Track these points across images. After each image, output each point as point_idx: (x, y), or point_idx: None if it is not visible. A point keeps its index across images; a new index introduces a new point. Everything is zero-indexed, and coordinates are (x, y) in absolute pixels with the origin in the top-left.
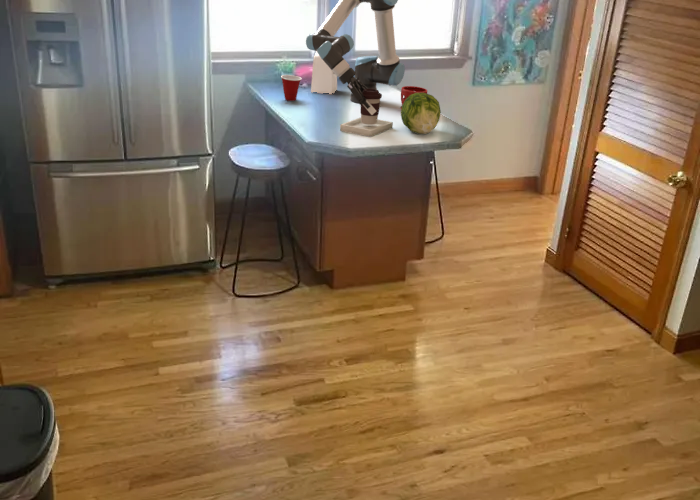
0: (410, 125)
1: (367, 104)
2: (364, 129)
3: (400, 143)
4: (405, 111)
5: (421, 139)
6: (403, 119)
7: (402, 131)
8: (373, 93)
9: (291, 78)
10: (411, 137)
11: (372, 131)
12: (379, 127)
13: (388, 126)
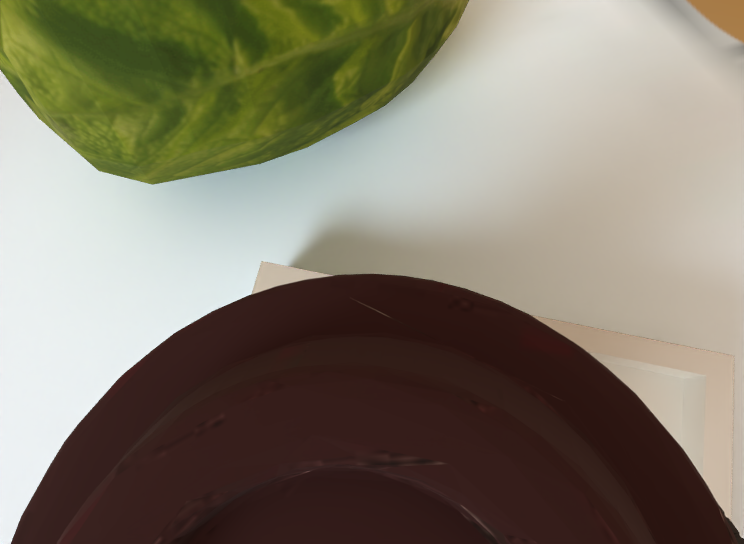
0: (452, 31)
1: (737, 538)
2: (730, 446)
3: (714, 89)
4: (377, 3)
5: (499, 5)
6: (363, 97)
7: (342, 177)
8: (611, 487)
9: None
10: (486, 73)
11: (694, 351)
12: (540, 318)
13: None
